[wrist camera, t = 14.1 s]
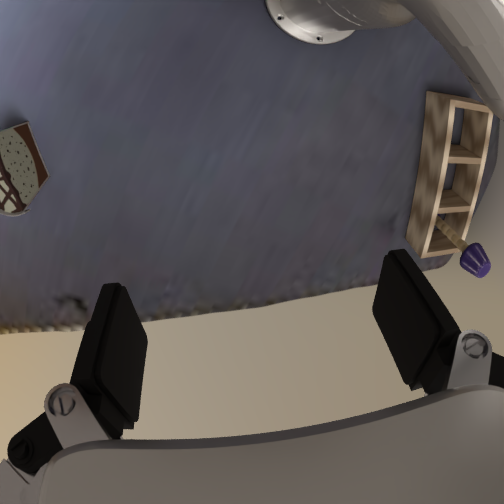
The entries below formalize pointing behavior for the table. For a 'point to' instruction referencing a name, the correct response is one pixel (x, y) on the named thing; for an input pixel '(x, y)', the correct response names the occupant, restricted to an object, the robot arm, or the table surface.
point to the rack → (434, 169)
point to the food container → (19, 169)
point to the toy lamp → (466, 251)
